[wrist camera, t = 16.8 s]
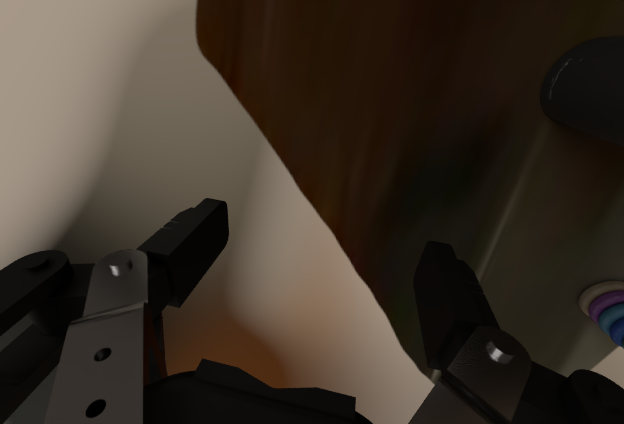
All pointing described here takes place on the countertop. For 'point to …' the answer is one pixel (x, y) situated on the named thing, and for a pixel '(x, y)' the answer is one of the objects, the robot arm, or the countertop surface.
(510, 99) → the countertop surface
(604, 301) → the stacking toy
